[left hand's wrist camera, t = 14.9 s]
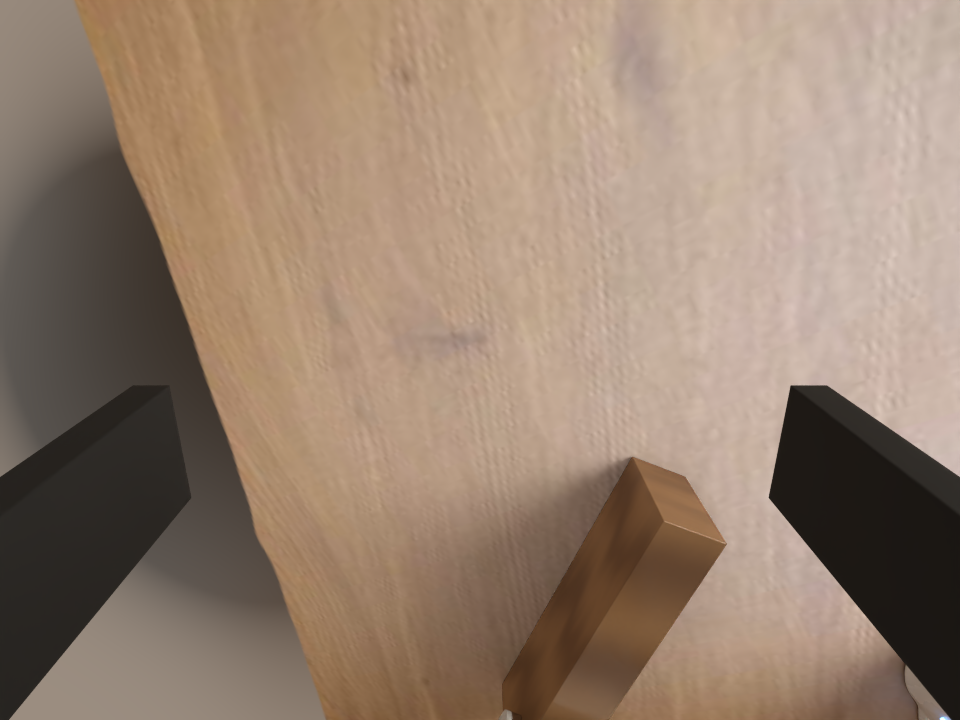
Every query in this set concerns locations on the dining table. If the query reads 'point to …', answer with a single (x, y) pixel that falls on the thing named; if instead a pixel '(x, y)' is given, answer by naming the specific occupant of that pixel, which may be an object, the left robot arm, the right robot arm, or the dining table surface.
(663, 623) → the bar
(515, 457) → the dining table surface
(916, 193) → the dining table surface
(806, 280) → the dining table surface
